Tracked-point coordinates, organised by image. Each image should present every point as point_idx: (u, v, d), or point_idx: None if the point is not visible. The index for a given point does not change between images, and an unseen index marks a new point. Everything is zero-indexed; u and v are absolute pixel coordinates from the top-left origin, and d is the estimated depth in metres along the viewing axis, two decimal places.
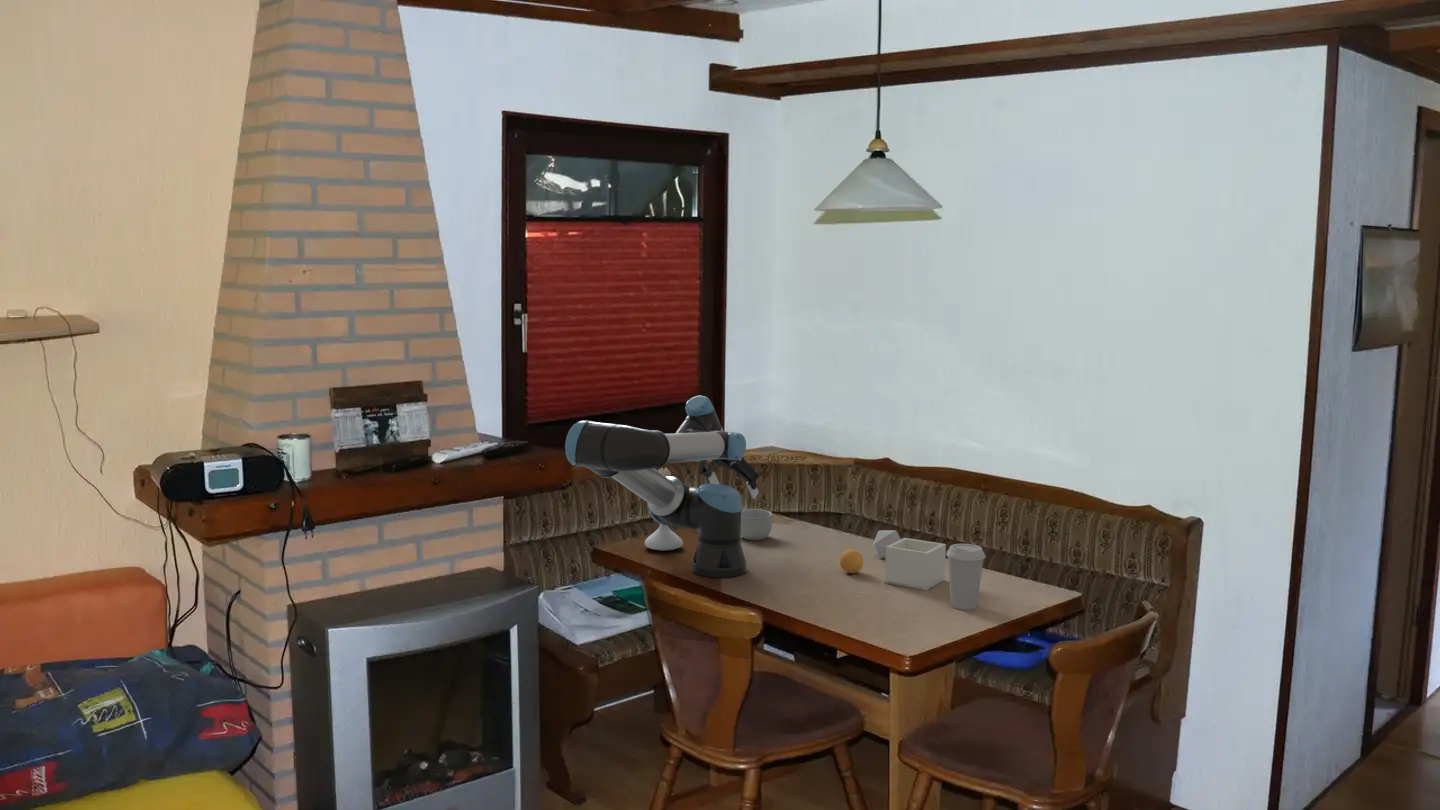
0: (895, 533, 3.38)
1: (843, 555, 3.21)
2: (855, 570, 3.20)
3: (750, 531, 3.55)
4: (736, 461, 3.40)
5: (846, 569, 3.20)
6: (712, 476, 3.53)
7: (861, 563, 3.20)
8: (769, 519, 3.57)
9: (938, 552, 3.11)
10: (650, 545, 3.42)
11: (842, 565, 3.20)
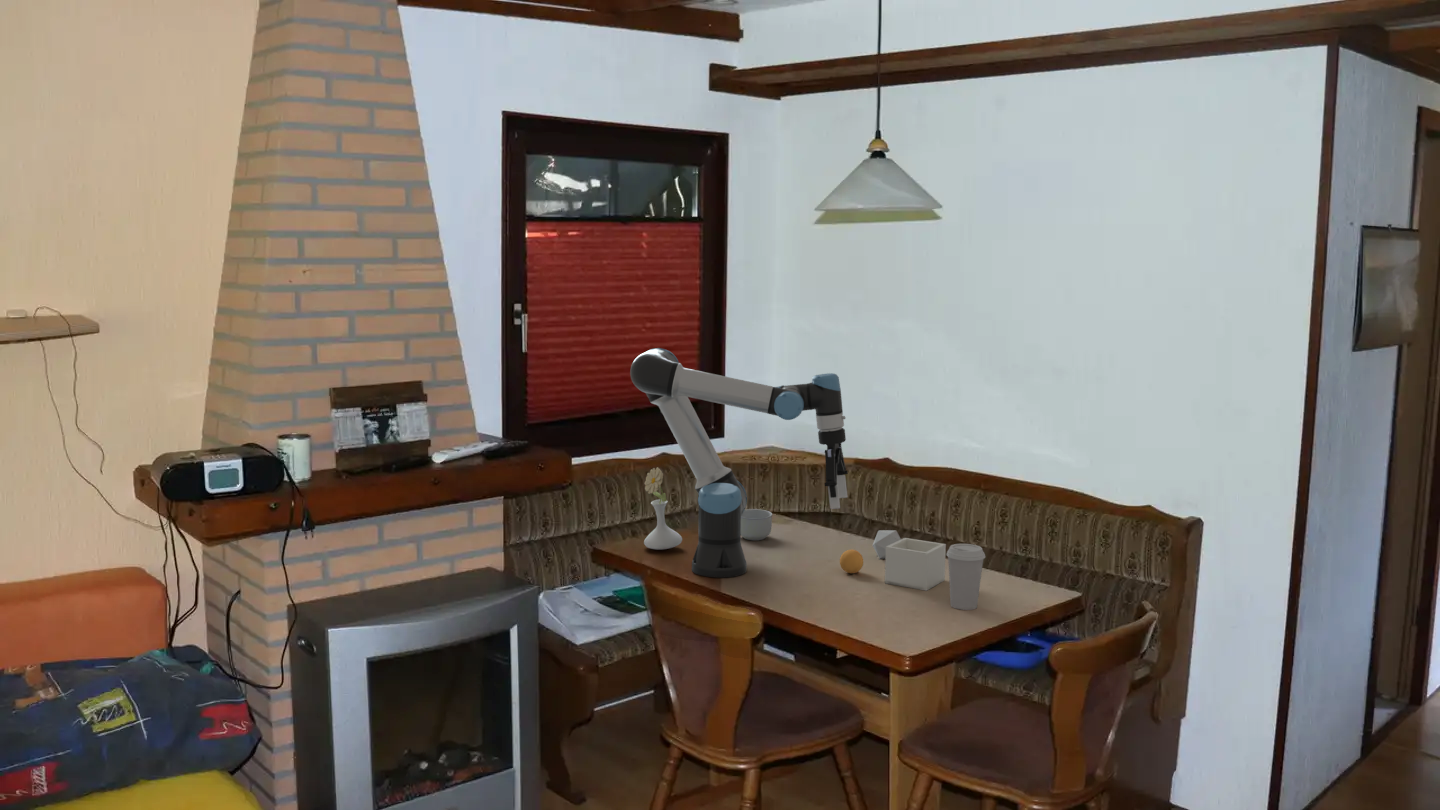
0: (895, 533, 3.38)
1: (843, 555, 3.21)
2: (855, 570, 3.20)
3: (750, 531, 3.55)
4: (825, 454, 3.23)
5: (846, 569, 3.20)
6: (839, 477, 3.36)
7: (861, 563, 3.20)
8: (769, 519, 3.57)
9: (938, 552, 3.11)
10: (650, 545, 3.42)
11: (842, 565, 3.20)
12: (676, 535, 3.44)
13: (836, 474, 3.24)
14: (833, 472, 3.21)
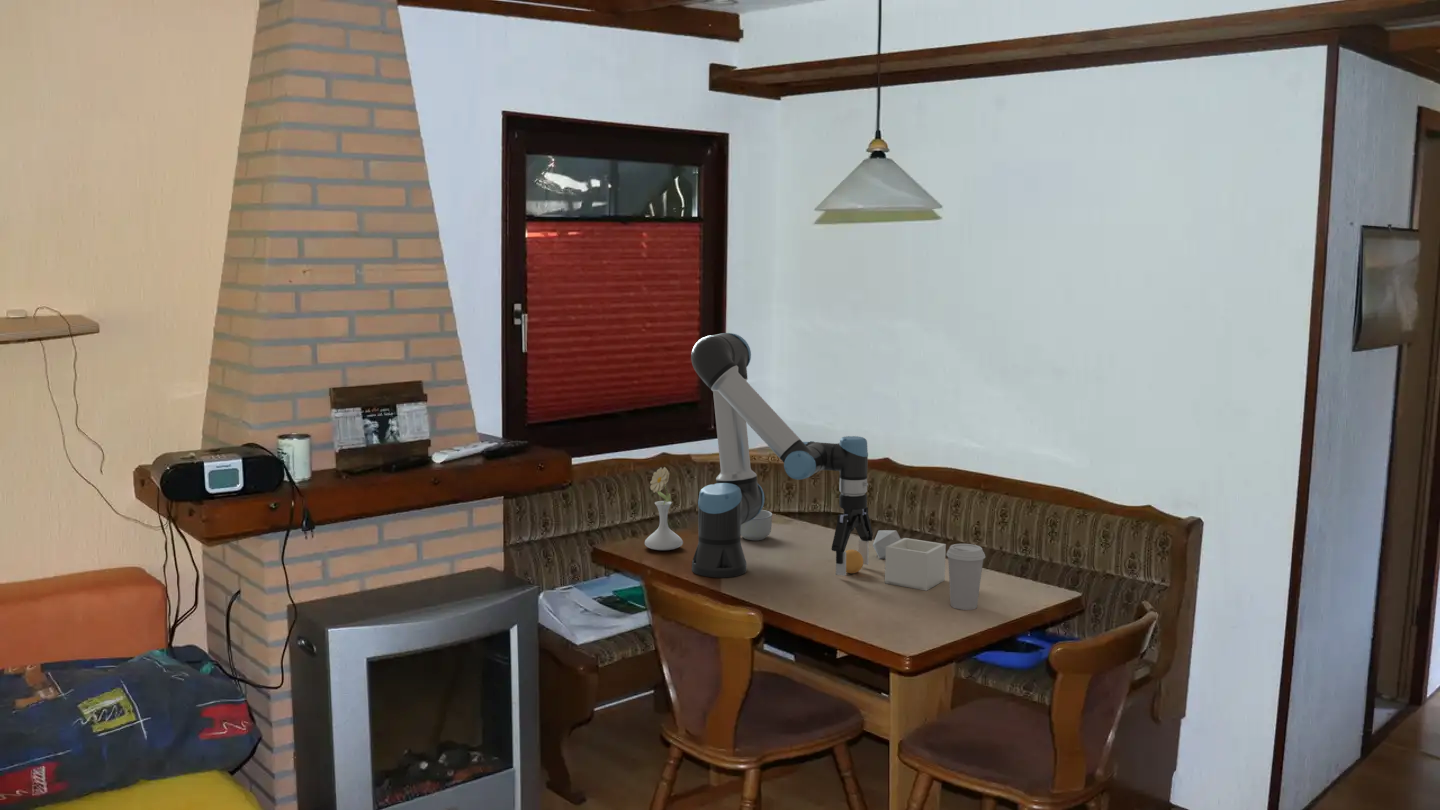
0: (895, 533, 3.38)
1: None
2: (855, 570, 3.20)
3: (750, 531, 3.55)
4: None
5: (846, 569, 3.20)
6: (862, 543, 3.27)
7: (861, 563, 3.20)
8: (769, 519, 3.57)
9: (938, 552, 3.11)
10: (650, 545, 3.42)
11: None
12: (677, 537, 3.45)
13: (846, 541, 3.15)
14: (841, 538, 3.13)
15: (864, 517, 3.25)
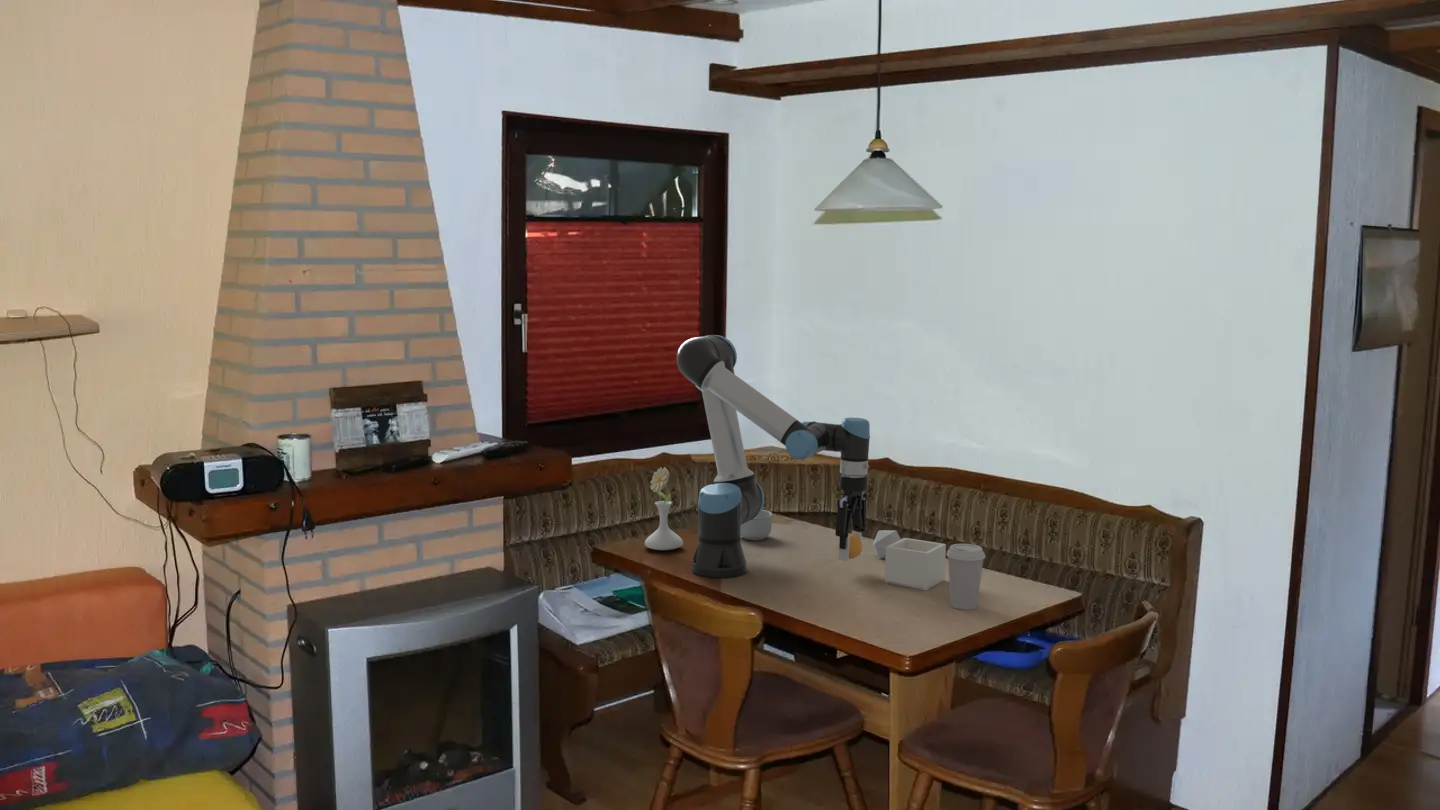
0: (895, 533, 3.38)
1: None
2: (853, 555, 3.19)
3: (750, 531, 3.55)
4: None
5: None
6: (855, 533, 3.24)
7: (860, 549, 3.20)
8: (769, 519, 3.57)
9: (938, 552, 3.11)
10: (650, 545, 3.42)
11: None
12: (677, 538, 3.45)
13: (849, 525, 3.17)
14: (843, 524, 3.15)
15: (862, 503, 3.24)
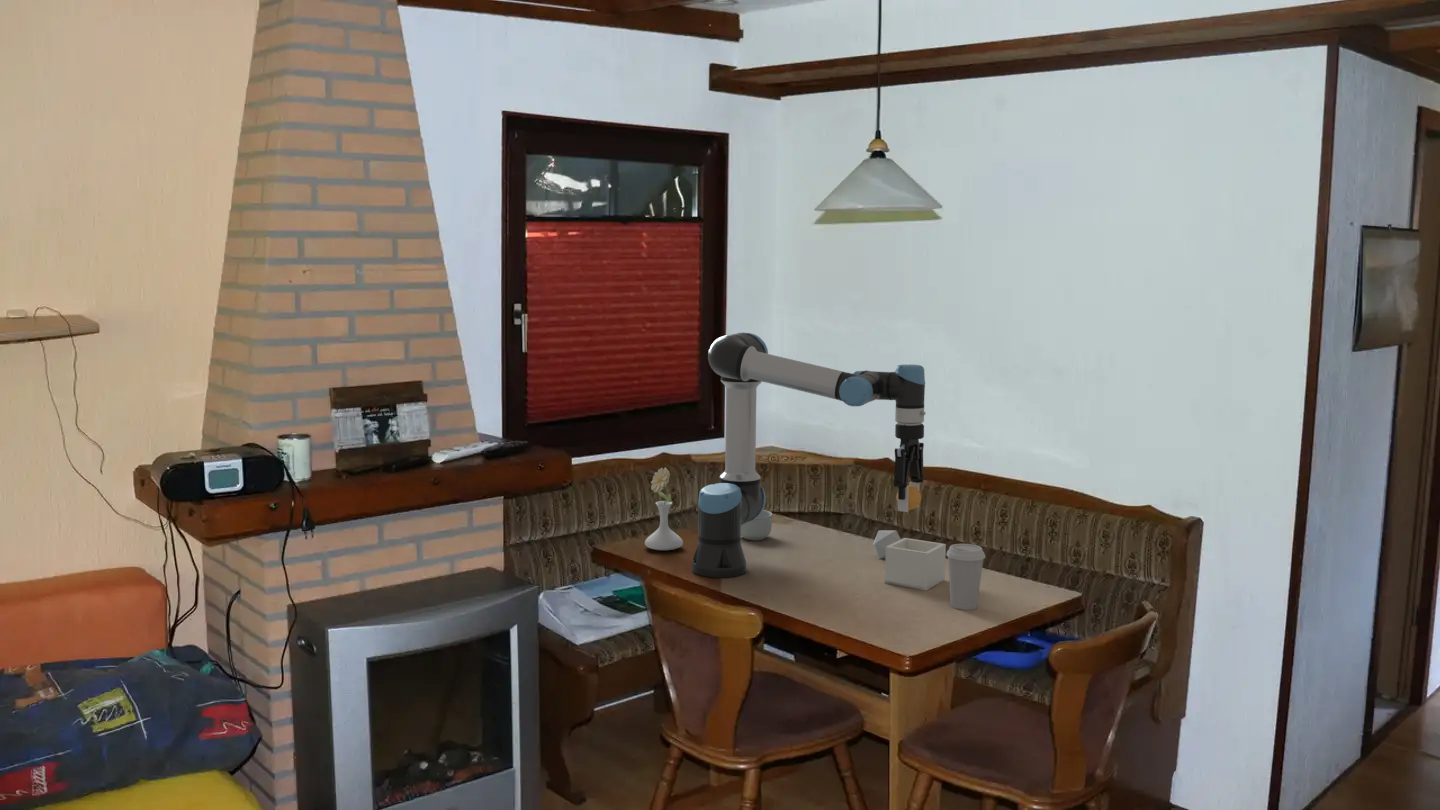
0: (895, 533, 3.38)
1: None
2: (913, 506, 3.10)
3: (750, 531, 3.55)
4: None
5: None
6: (913, 484, 3.15)
7: (919, 499, 3.10)
8: (769, 519, 3.57)
9: (938, 552, 3.11)
10: (650, 545, 3.42)
11: None
12: (677, 538, 3.45)
13: (907, 475, 3.08)
14: (901, 474, 3.06)
15: (918, 453, 3.15)
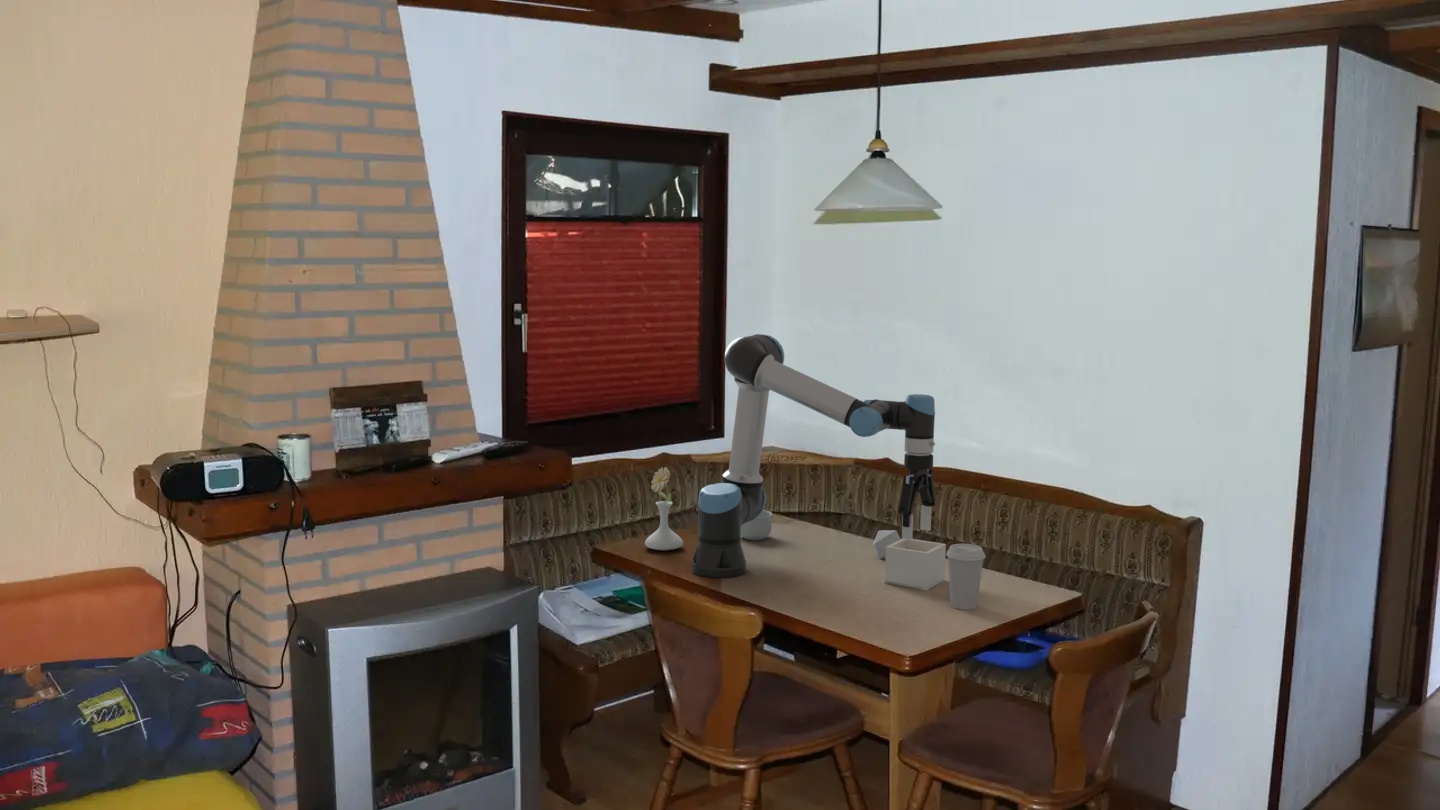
0: (895, 533, 3.38)
1: None
2: None
3: (750, 531, 3.55)
4: None
5: None
6: (925, 508, 3.17)
7: None
8: (769, 519, 3.57)
9: (938, 552, 3.11)
10: (650, 545, 3.42)
11: None
12: (677, 538, 3.45)
13: (913, 503, 3.06)
14: (908, 501, 3.04)
15: (928, 480, 3.15)
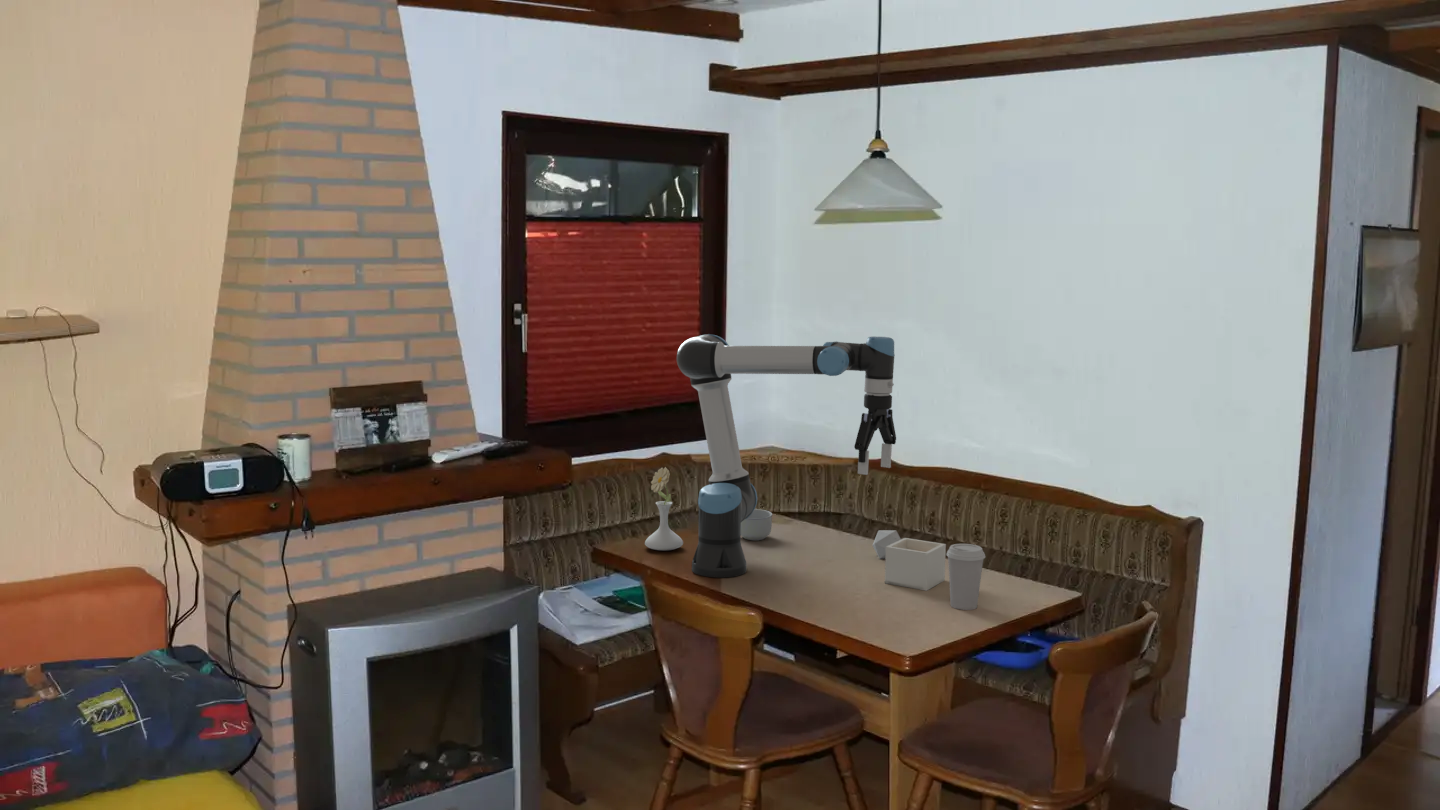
0: (895, 533, 3.38)
1: None
2: None
3: (750, 531, 3.55)
4: None
5: None
6: (885, 446, 3.26)
7: None
8: (769, 519, 3.57)
9: (938, 552, 3.11)
10: (650, 545, 3.42)
11: None
12: (677, 538, 3.45)
13: (869, 440, 3.15)
14: (864, 437, 3.12)
15: (888, 420, 3.24)
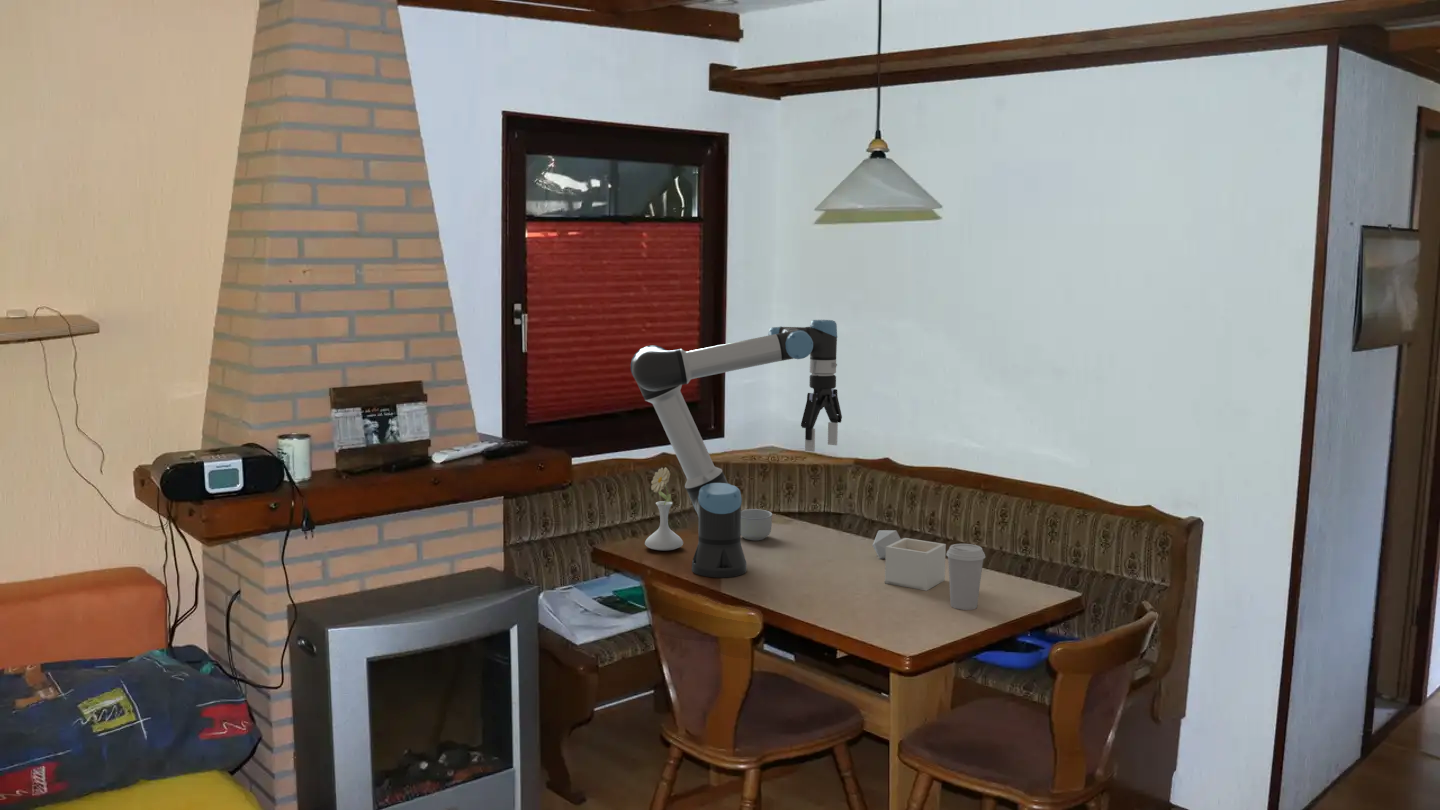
0: (895, 533, 3.38)
1: None
2: None
3: (750, 531, 3.55)
4: None
5: None
6: (831, 424, 3.41)
7: None
8: (769, 519, 3.57)
9: (938, 552, 3.11)
10: (650, 545, 3.43)
11: None
12: (677, 538, 3.45)
13: (815, 418, 3.29)
14: (810, 415, 3.27)
15: (833, 399, 3.39)
